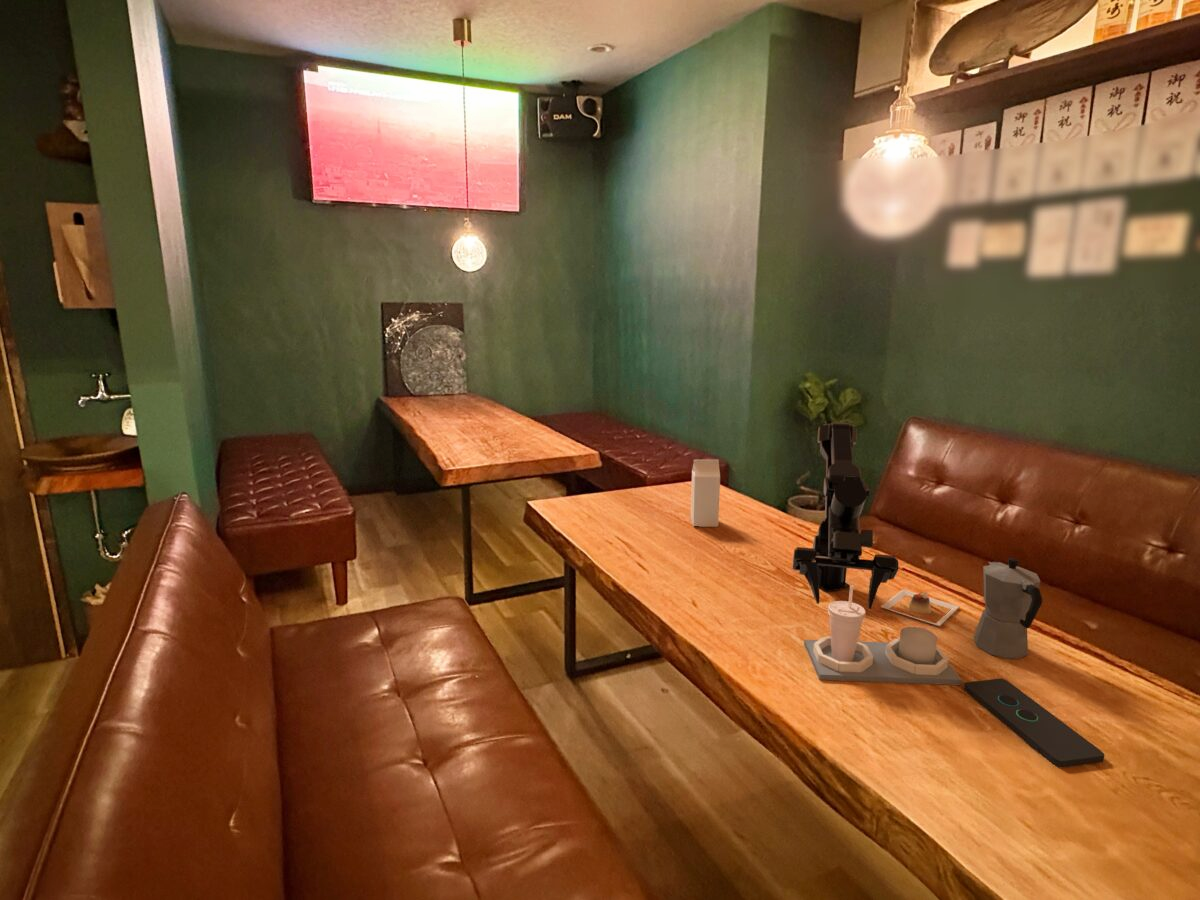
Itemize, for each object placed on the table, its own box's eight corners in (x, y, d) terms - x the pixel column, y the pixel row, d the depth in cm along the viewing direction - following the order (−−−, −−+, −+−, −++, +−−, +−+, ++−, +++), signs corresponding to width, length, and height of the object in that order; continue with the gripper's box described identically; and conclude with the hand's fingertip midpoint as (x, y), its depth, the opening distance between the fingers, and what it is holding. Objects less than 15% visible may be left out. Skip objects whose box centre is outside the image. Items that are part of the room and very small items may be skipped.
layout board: (819, 679, 117) (821, 648, 116) (804, 644, 129) (806, 615, 128) (961, 684, 116) (965, 653, 114) (932, 648, 127) (936, 619, 126)
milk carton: (718, 527, 192) (720, 463, 188) (693, 527, 192) (695, 463, 188) (714, 518, 199) (716, 456, 194) (690, 518, 199) (692, 456, 195)
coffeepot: (957, 629, 134) (969, 545, 130) (1004, 629, 134) (1017, 545, 130) (1001, 672, 120) (1016, 578, 115) (1054, 672, 119) (1071, 578, 115)
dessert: (879, 611, 143) (882, 590, 142) (902, 593, 152) (904, 573, 150) (939, 631, 135) (942, 609, 134) (959, 611, 143) (962, 590, 142)
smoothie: (868, 663, 120) (876, 592, 117) (836, 668, 119) (843, 596, 116) (847, 645, 126) (854, 577, 123) (817, 650, 125) (822, 580, 122)
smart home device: (1004, 677, 116) (1108, 754, 97) (1003, 685, 116) (1106, 764, 97) (961, 681, 115) (1058, 760, 95) (960, 690, 115) (1056, 771, 96)
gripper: (797, 508, 129) (794, 585, 121) (902, 516, 124) (906, 597, 116) (794, 532, 138) (791, 605, 130) (891, 540, 133) (894, 617, 126)
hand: (843, 605), depth 125 cm, fingers open, 9 cm apart
